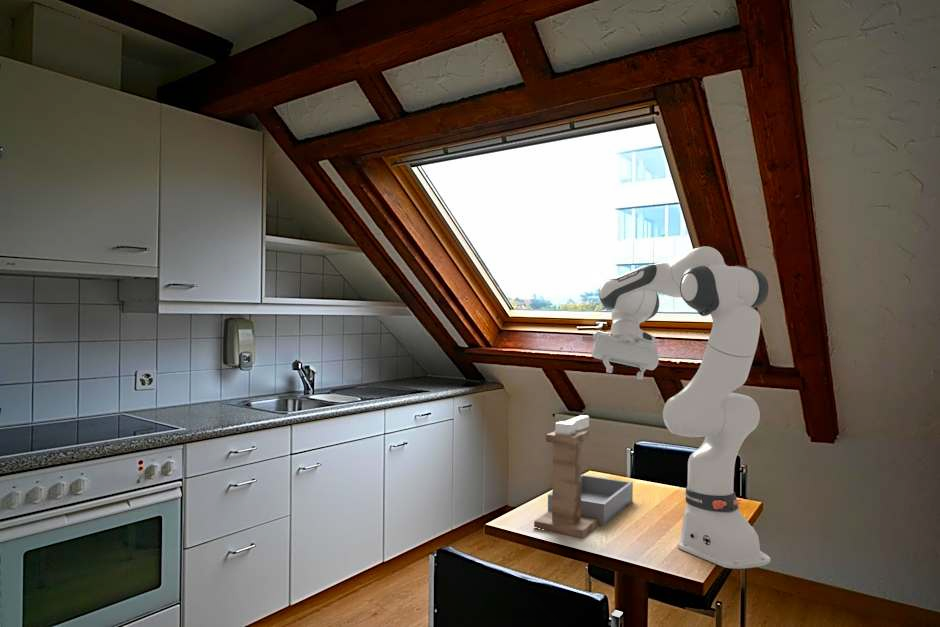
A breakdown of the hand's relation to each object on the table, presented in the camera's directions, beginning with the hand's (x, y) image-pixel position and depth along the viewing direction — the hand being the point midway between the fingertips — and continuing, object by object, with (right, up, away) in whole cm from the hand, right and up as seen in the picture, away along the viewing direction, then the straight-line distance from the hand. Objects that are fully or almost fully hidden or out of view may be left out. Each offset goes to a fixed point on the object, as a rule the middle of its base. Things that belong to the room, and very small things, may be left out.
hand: (624, 375), depth 191 cm
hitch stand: (-20, -40, -15) cm, 48 cm away
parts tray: (-10, -41, +2) cm, 42 cm away
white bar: (-17, -15, -11) cm, 25 cm away
